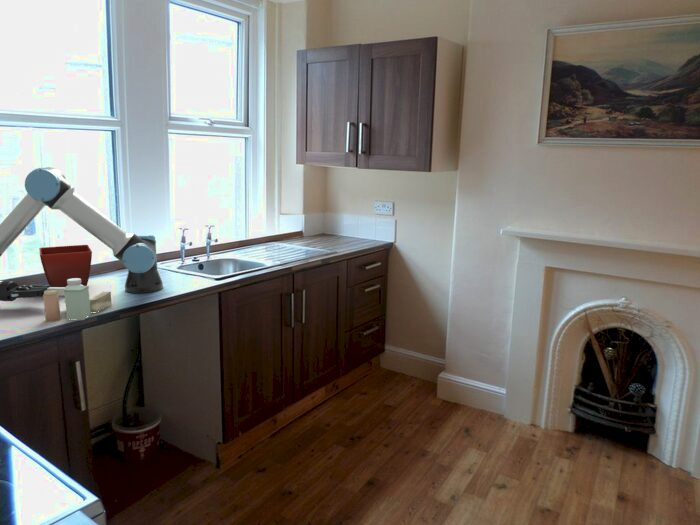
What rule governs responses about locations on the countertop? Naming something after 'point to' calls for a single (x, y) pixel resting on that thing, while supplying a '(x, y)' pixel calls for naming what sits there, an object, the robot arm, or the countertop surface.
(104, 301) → the block
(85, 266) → the plant pot
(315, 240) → the countertop surface
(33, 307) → the countertop surface
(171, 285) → the countertop surface
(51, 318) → the spice jar
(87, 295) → the tea tin
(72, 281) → the pill bottle
